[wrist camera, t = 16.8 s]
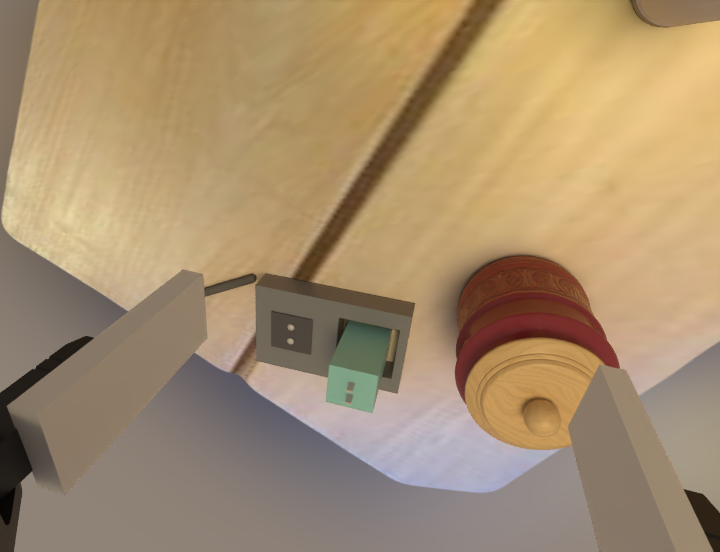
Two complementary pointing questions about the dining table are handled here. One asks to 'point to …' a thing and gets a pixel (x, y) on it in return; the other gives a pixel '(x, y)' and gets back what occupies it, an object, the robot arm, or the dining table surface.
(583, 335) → the canister
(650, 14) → the travel mug
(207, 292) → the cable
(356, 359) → the charger block
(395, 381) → the grey flat block
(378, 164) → the dining table surface
